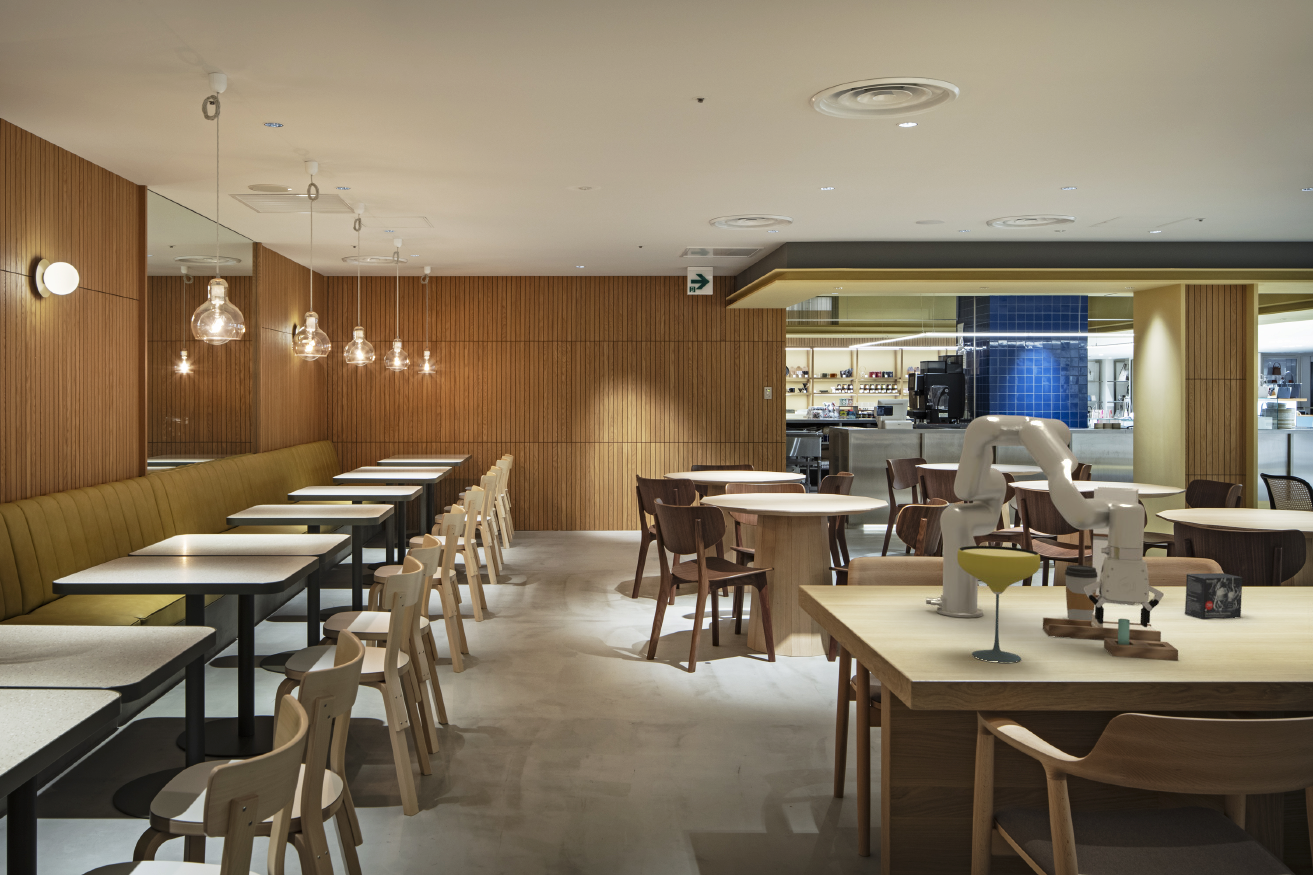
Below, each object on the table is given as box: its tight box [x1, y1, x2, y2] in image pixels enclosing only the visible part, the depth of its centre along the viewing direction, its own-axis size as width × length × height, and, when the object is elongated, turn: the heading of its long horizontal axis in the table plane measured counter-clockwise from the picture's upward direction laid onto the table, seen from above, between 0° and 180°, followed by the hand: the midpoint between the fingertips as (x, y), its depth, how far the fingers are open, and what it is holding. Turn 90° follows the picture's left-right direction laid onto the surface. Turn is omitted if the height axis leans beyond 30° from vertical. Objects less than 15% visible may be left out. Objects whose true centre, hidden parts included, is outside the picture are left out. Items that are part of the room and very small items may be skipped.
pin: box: [1117, 618, 1131, 645], centre depth 213 cm, size 2×2×8 cm
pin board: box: [1103, 638, 1179, 661], centre depth 212 cm, size 14×8×2 cm, turn 76°
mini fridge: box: [1092, 486, 1139, 606], centre depth 277 cm, size 11×11×35 cm
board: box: [1042, 617, 1162, 642], centre depth 230 cm, size 26×9×3 cm, turn 76°
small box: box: [1184, 572, 1243, 620], centre depth 256 cm, size 13×7×12 cm, turn 102°
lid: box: [1091, 612, 1157, 631], centre depth 229 cm, size 14×6×3 cm, turn 76°
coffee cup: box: [1064, 564, 1098, 621], centre depth 248 cm, size 8×8×15 cm
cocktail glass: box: [957, 545, 1041, 663], centre depth 208 cm, size 18×18×25 cm
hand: (1121, 624), depth 214 cm, fingers open, 9 cm apart
